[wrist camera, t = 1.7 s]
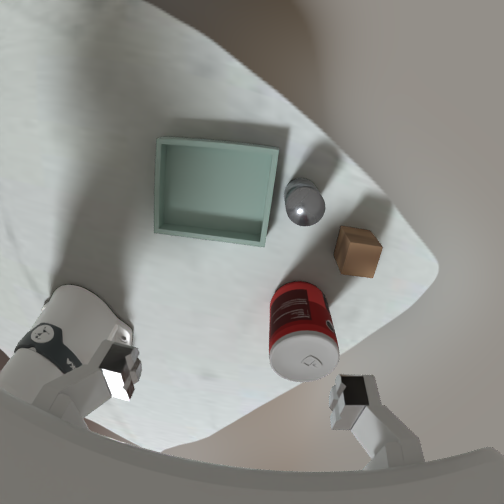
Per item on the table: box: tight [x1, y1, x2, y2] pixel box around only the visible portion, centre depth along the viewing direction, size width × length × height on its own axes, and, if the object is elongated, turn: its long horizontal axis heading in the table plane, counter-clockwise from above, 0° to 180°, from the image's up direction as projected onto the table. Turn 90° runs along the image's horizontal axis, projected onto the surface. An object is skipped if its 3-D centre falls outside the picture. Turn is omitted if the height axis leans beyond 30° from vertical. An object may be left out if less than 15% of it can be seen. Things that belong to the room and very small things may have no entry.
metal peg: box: [284, 178, 325, 226], centre depth 33 cm, size 4×4×5 cm
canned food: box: [269, 281, 340, 382], centre depth 37 cm, size 8×8×11 cm
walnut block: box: [334, 226, 383, 278], centre depth 35 cm, size 4×4×5 cm
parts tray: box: [154, 136, 279, 247], centre depth 34 cm, size 11×13×2 cm
